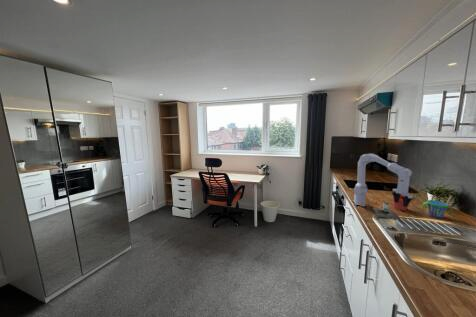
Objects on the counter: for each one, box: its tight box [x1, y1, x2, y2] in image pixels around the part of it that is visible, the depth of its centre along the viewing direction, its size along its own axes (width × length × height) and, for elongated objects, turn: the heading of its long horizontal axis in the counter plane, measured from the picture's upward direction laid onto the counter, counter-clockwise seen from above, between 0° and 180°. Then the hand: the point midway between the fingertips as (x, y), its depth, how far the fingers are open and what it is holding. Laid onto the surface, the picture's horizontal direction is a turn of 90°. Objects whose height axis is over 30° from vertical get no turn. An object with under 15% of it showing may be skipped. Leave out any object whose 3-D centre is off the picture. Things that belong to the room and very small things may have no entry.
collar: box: [372, 207, 400, 220], centre depth 137 cm, size 12×12×4 cm
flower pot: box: [391, 195, 411, 212], centre depth 146 cm, size 11×11×10 cm
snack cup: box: [421, 199, 453, 219], centre depth 133 cm, size 16×10×10 cm
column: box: [381, 201, 390, 212], centre depth 136 cm, size 4×4×6 cm
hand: (400, 204), depth 130 cm, fingers open, 7 cm apart
